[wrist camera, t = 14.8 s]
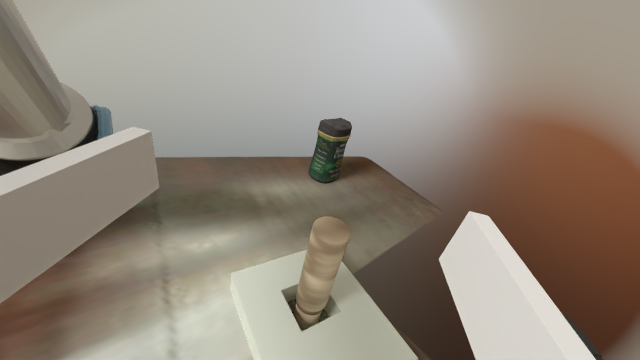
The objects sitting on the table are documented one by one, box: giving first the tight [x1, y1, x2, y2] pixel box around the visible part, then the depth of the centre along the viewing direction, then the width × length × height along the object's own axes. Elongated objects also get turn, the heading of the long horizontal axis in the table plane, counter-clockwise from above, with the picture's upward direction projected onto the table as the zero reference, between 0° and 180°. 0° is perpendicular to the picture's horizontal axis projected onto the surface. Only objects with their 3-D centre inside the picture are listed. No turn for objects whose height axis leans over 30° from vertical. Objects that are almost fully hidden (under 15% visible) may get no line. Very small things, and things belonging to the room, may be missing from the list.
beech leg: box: [293, 217, 350, 330], centre depth 34 cm, size 5×5×18 cm
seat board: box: [230, 250, 418, 360], centre depth 36 cm, size 22×18×4 cm
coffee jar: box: [309, 118, 352, 183], centre depth 74 cm, size 10×8×19 cm
